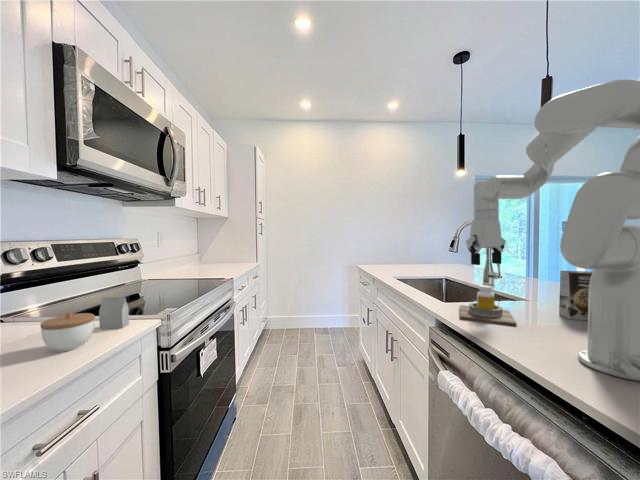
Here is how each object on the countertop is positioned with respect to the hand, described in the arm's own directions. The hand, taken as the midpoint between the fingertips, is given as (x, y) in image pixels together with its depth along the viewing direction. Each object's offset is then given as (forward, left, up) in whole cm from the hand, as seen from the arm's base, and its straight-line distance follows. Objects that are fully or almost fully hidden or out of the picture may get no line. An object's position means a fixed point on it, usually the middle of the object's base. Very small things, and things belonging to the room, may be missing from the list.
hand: (486, 264), depth 96 cm
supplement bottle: (0, 0, -18) cm, 18 cm away
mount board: (0, 0, -19) cm, 19 cm away
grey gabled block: (-66, +109, -19) cm, 129 cm away
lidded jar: (-80, +102, -19) cm, 131 cm away
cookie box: (+12, -29, -19) cm, 37 cm away
